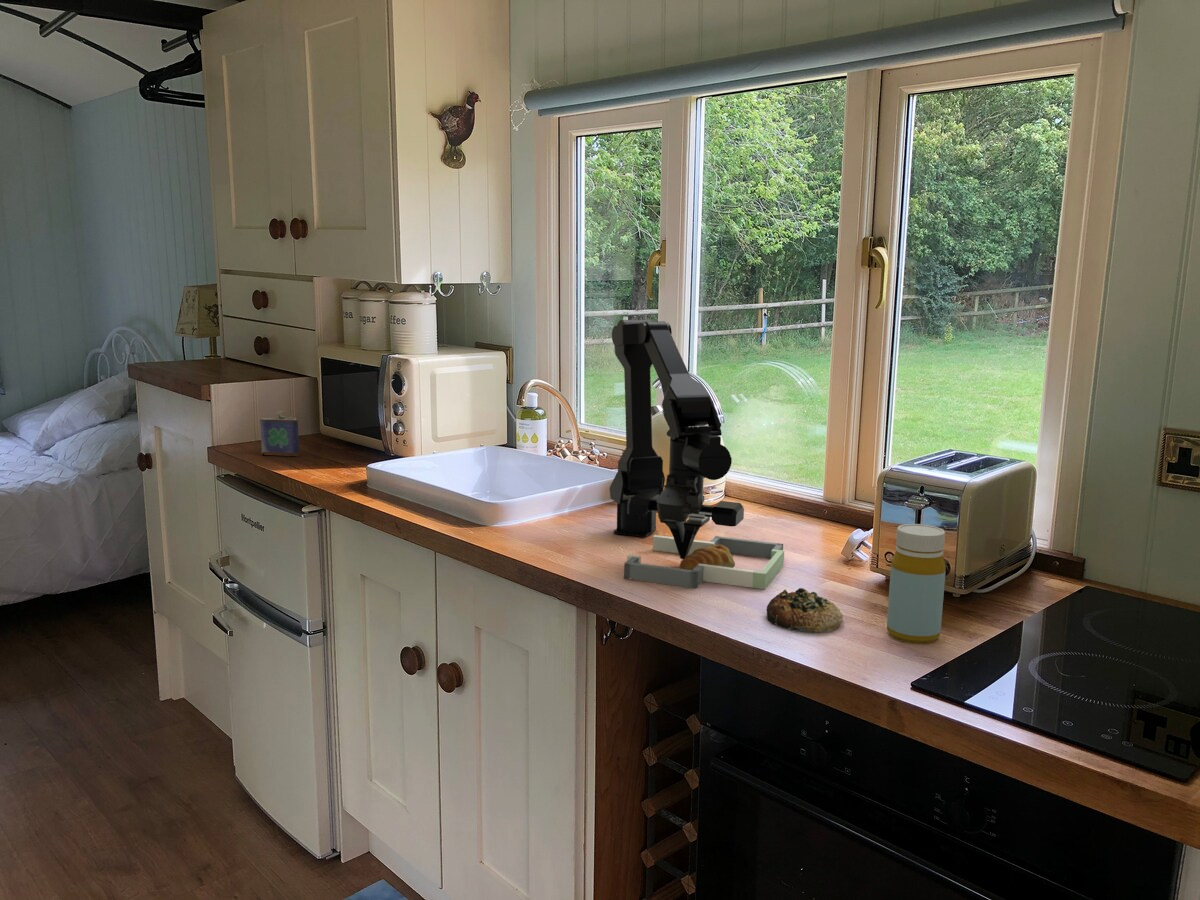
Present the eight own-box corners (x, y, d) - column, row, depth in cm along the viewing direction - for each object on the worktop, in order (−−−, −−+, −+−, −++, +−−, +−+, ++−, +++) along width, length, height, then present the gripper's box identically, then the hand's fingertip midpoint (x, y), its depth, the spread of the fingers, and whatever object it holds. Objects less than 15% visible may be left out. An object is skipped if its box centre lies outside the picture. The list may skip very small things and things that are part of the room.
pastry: (699, 581, 158) (699, 558, 157) (669, 571, 163) (669, 549, 162) (738, 570, 164) (738, 548, 163) (707, 561, 169) (708, 539, 168)
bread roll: (750, 611, 144) (756, 578, 143) (812, 612, 149) (819, 580, 148) (792, 641, 134) (799, 606, 133) (858, 640, 139) (865, 607, 138)
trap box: (618, 577, 159) (618, 562, 158) (661, 543, 179) (662, 529, 178) (759, 597, 150) (759, 581, 150) (788, 558, 170) (789, 544, 170)
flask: (260, 456, 253) (258, 411, 251) (265, 453, 256) (263, 409, 254) (297, 457, 252) (295, 412, 250) (302, 455, 255) (300, 410, 253)
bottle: (878, 626, 139) (886, 523, 136) (927, 626, 139) (935, 522, 136) (897, 645, 132) (905, 537, 129) (948, 644, 132) (957, 536, 130)
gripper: (616, 471, 159) (613, 564, 162) (728, 482, 152) (724, 579, 155) (639, 459, 169) (637, 547, 172) (746, 469, 162) (742, 560, 165)
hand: (683, 558), depth 166 cm, fingers closed
